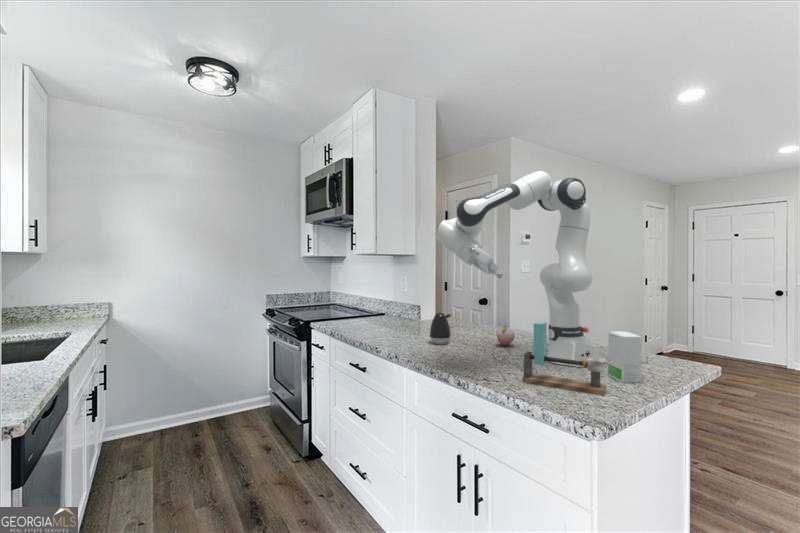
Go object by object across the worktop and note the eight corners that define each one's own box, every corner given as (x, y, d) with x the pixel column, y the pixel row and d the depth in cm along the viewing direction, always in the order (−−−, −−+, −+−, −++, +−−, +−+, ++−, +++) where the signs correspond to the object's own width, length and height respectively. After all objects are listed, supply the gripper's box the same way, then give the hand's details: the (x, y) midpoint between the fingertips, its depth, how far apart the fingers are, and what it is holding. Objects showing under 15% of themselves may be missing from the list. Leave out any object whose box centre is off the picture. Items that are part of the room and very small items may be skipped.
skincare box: (607, 375, 133) (606, 331, 133) (624, 374, 134) (624, 330, 133) (623, 383, 125) (623, 336, 125) (642, 382, 125) (642, 335, 125)
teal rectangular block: (533, 364, 126) (533, 323, 125) (537, 361, 130) (537, 321, 130) (543, 365, 124) (543, 324, 124) (546, 362, 128) (546, 322, 128)
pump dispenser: (452, 345, 182) (452, 313, 181) (430, 345, 182) (430, 314, 182) (449, 341, 192) (449, 311, 192) (429, 341, 192) (428, 311, 192)
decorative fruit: (515, 348, 175) (515, 326, 174) (497, 347, 176) (497, 326, 176) (513, 344, 184) (513, 323, 184) (496, 343, 185) (496, 323, 185)
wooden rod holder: (522, 382, 127) (522, 353, 127) (527, 376, 133) (527, 349, 133) (603, 395, 114) (603, 363, 114) (605, 388, 120) (605, 358, 120)
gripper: (474, 238, 132) (507, 262, 127) (478, 251, 151) (507, 272, 147) (462, 252, 132) (495, 277, 128) (468, 263, 151) (496, 285, 147)
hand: (501, 275), depth 137 cm, fingers open, 8 cm apart
